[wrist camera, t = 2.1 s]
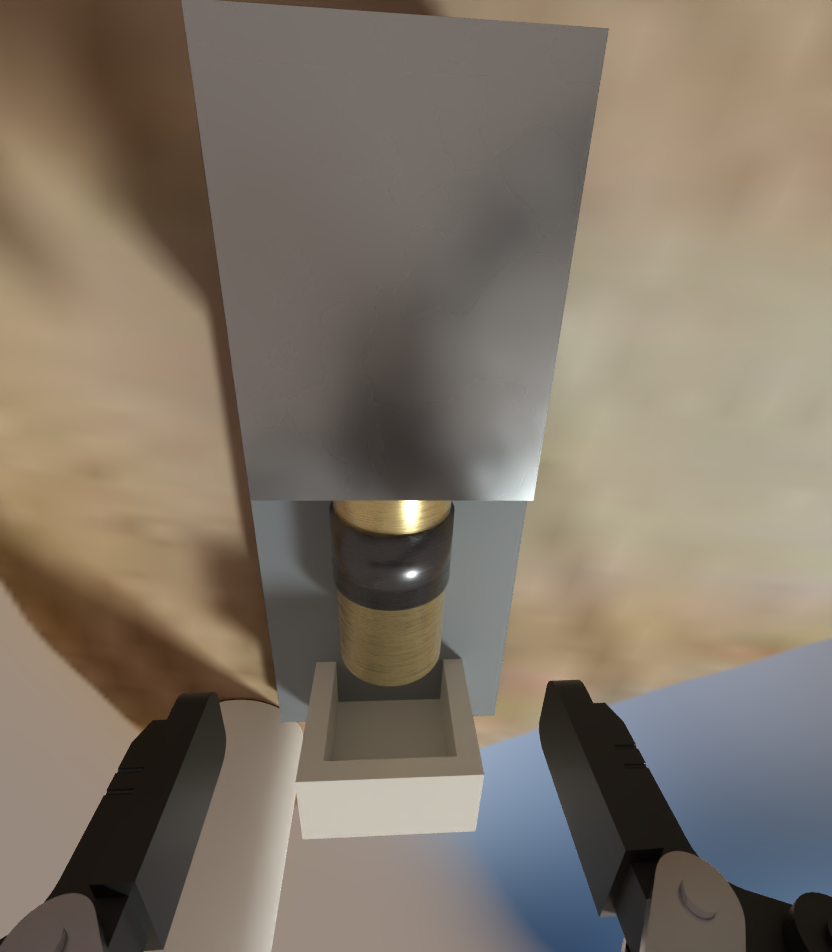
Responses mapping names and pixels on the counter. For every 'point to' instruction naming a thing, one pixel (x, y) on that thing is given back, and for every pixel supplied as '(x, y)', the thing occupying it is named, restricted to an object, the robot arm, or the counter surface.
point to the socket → (389, 762)
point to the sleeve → (392, 240)
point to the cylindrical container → (242, 837)
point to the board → (317, 614)
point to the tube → (391, 585)
